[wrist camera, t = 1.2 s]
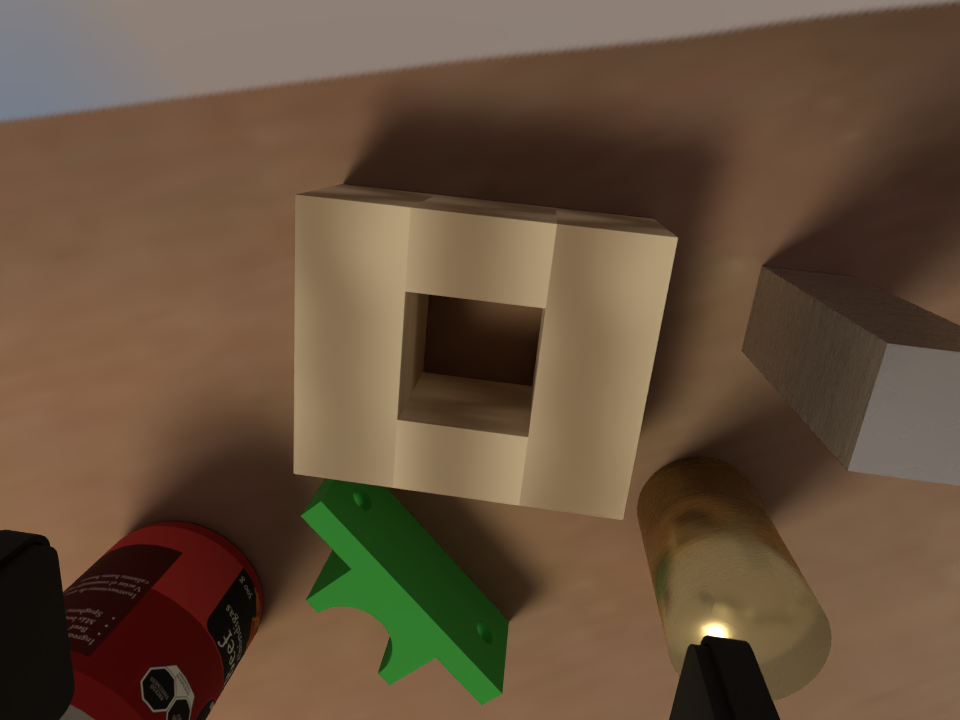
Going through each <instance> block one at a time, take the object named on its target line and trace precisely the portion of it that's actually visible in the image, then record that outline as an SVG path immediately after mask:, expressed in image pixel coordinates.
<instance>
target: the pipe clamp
mask: <svg viewBox="0 0 960 720" xmlns="http://www.w3.org/2000/svg"><path fill="white" fill-rule="evenodd" d="M301 517H302V518H303V519H304V520H305V521H306V522H307V523H308V524H309V525H310V526H311V527H312V529H313V530H314V531H315V532H316V533H317V534H318V535H319V536H320V537H321V538H322V539H323V540H324V541H325V542H326V543H327V544H328V545H329V546H330V547H331V548H332V549H333V550H332V552H331V554H330V556H329V558H328V560H327V562H326V563H325V565H324V567H323V569H322V571H321V573H320V575H319V577H318V578H317V580H316V582H315V584H314V586H313V588H312V590H311V592H310V593H309V595H308V597H307V599H306V601H307V602H308V603H309V604H310V605H311V606H312V607H313V608H314V609H315V610H316V611H317V612H318V613H319V612H321V611H322V610H325V609H328V608H331V607H338V606H346V607H353V608H357V609H360V610H363V611H365V612H367V613H369V614H371V615H372V616H374V617H375V618H376V619H377V620H379V621H380V622H381V623H382V624H383V626H384V627H385V628H386V630H387V631H388V633H389V635H390V638H389V641H388V644H387V647H386V650H385V653H384V656H383V659H382V662H381V666H380V669H379V672H378V674H379V675H380V676H381V677H382V678H383V679H384V680H385V681H386V682H387V683H388V684H389V685H391V684H392V683H394V682H396V681H397V680H399V679H401V678H402V677H404V676H406V675H407V674H409V673H411V672H413V671H414V670H416V669H418V668H419V667H421V666H423V665H424V664H426V663H428V662H429V661H431V660H433V659H434V658H437V659H438V660H439V661H440V662H441V663H442V664H443V666H444V667H445V668H446V669H447V670H448V671H449V672H450V673H451V674H452V675H453V676H454V677H455V678H456V679H457V680H458V681H459V682H460V683H461V684H462V685H463V686H464V687H465V689H466V690H467V691H468V692H469V693H470V694H471V695H472V696H473V697H474V698H475V699H476V700H477V701H478V702H479V703H480V704H481V705H483V704H484V703H486V702H488V701H490V700H492V699H493V698H495V697H497V696H499V695H501V694H502V690H503V679H504V668H505V657H506V646H507V635H508V624H509V621H508V620H507V619H506V618H505V617H504V616H503V615H502V614H501V613H500V611H499V610H498V609H497V608H496V607H495V606H494V605H493V604H492V603H491V602H490V600H489V599H488V598H487V597H486V596H485V595H484V594H483V593H482V592H481V591H480V589H479V588H478V587H477V586H476V585H475V584H474V583H473V582H472V581H471V580H470V579H469V577H468V576H467V575H466V574H465V573H464V572H463V571H462V570H461V569H460V568H459V566H458V565H457V564H456V563H455V562H454V561H453V560H452V559H451V558H450V557H449V555H448V554H447V553H446V552H445V551H444V550H443V549H442V548H441V547H440V546H439V545H438V543H437V542H436V541H435V540H434V539H433V538H432V537H431V536H430V535H429V534H428V532H427V531H426V530H425V529H424V528H423V527H422V526H421V525H420V524H419V523H418V521H417V520H416V519H415V518H414V517H413V516H412V515H411V514H410V513H409V512H408V510H407V509H406V508H405V507H404V506H403V505H402V504H401V503H400V502H399V501H398V500H397V498H396V497H395V496H394V495H393V494H392V493H391V492H390V491H389V490H388V489H387V487H384V486H377V485H370V484H363V483H356V482H348V481H341V480H334V479H327V478H325V480H324V482H323V483H322V485H321V486H320V488H319V489H318V491H317V492H316V494H315V495H314V497H313V498H312V500H311V501H310V503H309V504H308V506H307V507H306V509H305V510H304V512H303V513H302V515H301Z"/></svg>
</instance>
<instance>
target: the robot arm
mask: <svg viewBox="0 0 960 720" xmlns="http://www.w3.org/2000/svg"><path fill="white" fill-rule="evenodd" d="M74 691H75V683H74V675H73V667H72V659H71V652H70V644H69V636H68V629H67V621H66V613H65V606H64V598H63V590H62V583H61V575H60V567H59V560H58V554H57V551H56V550H55V549H54V548H53V547H51V546H50V543H49V541H48V539H47V538H46V537H45V536H42V535H38V534H31V533H25V532H18V531H11V530H1V531H0V720H60V718H61V717H62V716H63V715H64V713H65V712H66V711H67V709H68V707H69V705H70V704H71V701H72V698H73V695H74ZM669 720H780V718H779V716H778V713H777V710H776V708H775V705H774V703H773V700H772V698H771V695H770V693H769V690H768V688H767V685H766V683H765V680H764V677H763V675H762V672H761V670H760V667H759V665H758V662H757V660H756V657H755V655H754V652H753V650H752V648H751V646H750V644H749V643H748V642H747V641H743V640H736V639H730V638H723V637H716V636H710V635H706V636H704V637H703V639H702V641H701V644H700V645H696V644H690V645H689V646H688V648H687V651H686V655H685V659H684V663H683V667H682V671H681V675H680V679H679V683H678V687H677V691H676V695H675V699H674V703H673V707H672V711H671V715H670V719H669Z"/></svg>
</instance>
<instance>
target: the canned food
mask: <svg viewBox="0 0 960 720" xmlns="http://www.w3.org/2000/svg"><path fill="white" fill-rule="evenodd" d="M63 598H64V606H65V613H66V621H67V629H68V636H69V644H70V652H71V659H72V667H73V675H74V683H75V691H74V695H73V698H72V701H71V704H70V705H69V707H68V709H67V711H66V712H65V713H64V715H63V716H62V717H61V718H60V720H206V718H207V716H208V715H209V713H210V711H211V709H212V708H213V706H214V704H215V703H216V701H217V699H218V698H219V696H220V694H221V692H222V691H223V689H224V687H225V686H226V684H227V682H228V680H229V679H230V677H231V675H232V674H233V672H234V670H235V669H236V667H237V665H238V663H239V662H240V660H241V658H242V657H243V655H244V653H245V652H246V650H247V648H248V646H249V645H250V643H251V641H252V640H253V638H254V636H255V634H256V633H257V630H258V627H259V623H260V619H261V613H262V606H263V595H262V590H261V585H260V582H259V579H258V577H257V575H256V572H255V570H254V569H253V567H252V566H251V564H250V563H249V561H248V560H247V558H246V557H245V556H244V555H243V554H242V553H241V552H240V551H239V550H238V548H237V547H235V546H234V545H233V544H232V543H230V542H229V541H228V540H226V539H225V538H224V537H222V536H220V535H218V534H217V533H215V532H213V531H211V530H209V529H206V528H204V527H201V526H199V525H196V524H191V523H186V522H179V521H165V522H159V523H154V524H151V525H149V526H146V527H143V528H141V529H139V530H136V531H134V532H132V533H129V534H128V535H127V536H125V537H124V538H122V539H121V540H119V541H118V542H117V543H116V544H115V545H114V546H113V547H112V548H111V549H110V550H109V551H108V552H106V553H105V554H104V555H103V556H102V557H101V558H100V559H99V560H98V561H97V562H96V563H94V564H93V565H92V566H91V567H90V568H89V569H88V570H87V571H86V572H85V573H84V574H83V575H81V576H80V577H79V578H78V579H77V580H76V581H75V582H74V583H73V584H72V585H71V586H70V587H68V588H67V589H66V590H65V591H64V592H63Z"/></svg>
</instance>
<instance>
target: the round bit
mask: <svg viewBox="0 0 960 720" xmlns="http://www.w3.org/2000/svg"><path fill="white" fill-rule="evenodd" d="M637 516H638V521H639V526H640V530H641V535H642V539H643V543H644V548H645V552H646V556H647V561H648V565H649V570H650V574H651V578H652V583H653V587H654V591H655V596H656V600H657V605H658V609H659V613H660V618H661V622H662V626H663V631H664V635H665V640H666V644H667V648H668V653H669V657H670V659H671V662H672V664H673V666H674V668H675V670H676V672H677V673H678V674H679V676H680V675H681V671H682V667H683V663H684V659H685V655H686V651H687V648H688V646H689V645H690V644H696V645H700V644H701V641H702V639H703V637H704V636H706V635H710V636H716V637H723V638H730V639H736V640H743V641H747V642H748V643H749V644H750V646H751V648H752V650H753V652H754V655H755V657H756V660H757V662H758V665H759V667H760V670H761V672H762V675H763V677H764V680H765V683H766V685H767V688H768V690H769V693H770V695H771V698H772V700H773V701H775V700H778V699H782V698H784V697H786V696H789V695H791V694H793V693H795V692H796V691H798V690H800V689H801V688H803V687H804V686H805V685H807V684H808V683H809V682H810V681H811V680H812V679H813V678H815V676H816V675H817V674H818V673H819V672H820V670H821V669H822V667H823V665H824V664H825V662H826V660H827V657H828V655H829V651H830V647H831V629H830V625H829V622H828V619H827V617H826V615H825V613H824V611H823V609H822V607H821V606H820V604H819V602H818V601H817V599H816V597H815V595H814V594H813V592H812V590H811V588H810V587H809V585H808V583H807V581H806V580H805V578H804V576H803V575H802V573H801V571H800V569H799V568H798V566H797V564H796V562H795V561H794V559H793V557H792V555H791V554H790V552H789V550H788V548H787V547H786V545H785V543H784V542H783V540H782V538H781V536H780V535H779V533H778V531H777V529H776V528H775V526H774V524H773V522H772V521H771V519H770V517H769V515H768V514H767V512H766V510H765V509H764V507H763V505H762V503H761V502H760V500H759V498H758V496H757V495H756V493H755V491H754V489H753V488H752V486H751V484H750V483H749V481H748V480H747V478H746V477H745V476H744V475H743V474H742V473H741V472H740V471H738V470H737V469H736V468H734V467H733V466H731V465H729V464H727V463H725V462H723V461H720V460H716V459H712V458H703V457H695V458H686V459H682V460H678V461H675V462H673V463H670V464H668V465H666V466H665V467H663V468H661V469H660V470H659V471H657V472H656V473H655V474H654V475H653V476H652V477H651V478H650V479H649V480H648V481H647V482H646V484H645V485H644V487H643V489H642V491H641V493H640V496H639V499H638V505H637Z"/></svg>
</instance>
